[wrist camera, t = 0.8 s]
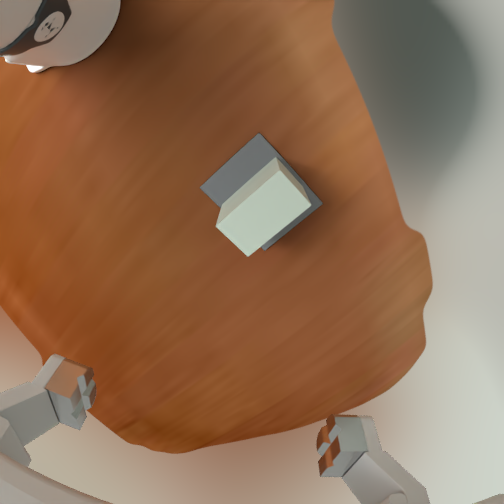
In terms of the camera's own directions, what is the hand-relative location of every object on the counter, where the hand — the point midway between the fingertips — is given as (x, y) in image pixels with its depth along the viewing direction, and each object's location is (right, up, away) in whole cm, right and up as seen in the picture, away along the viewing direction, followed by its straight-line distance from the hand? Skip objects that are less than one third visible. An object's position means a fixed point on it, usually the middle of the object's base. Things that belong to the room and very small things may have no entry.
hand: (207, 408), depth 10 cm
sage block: (+3, +12, +30) cm, 33 cm away
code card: (+3, +12, +30) cm, 33 cm away
